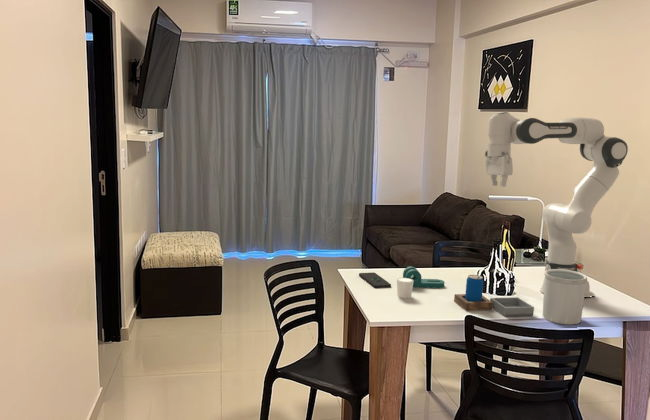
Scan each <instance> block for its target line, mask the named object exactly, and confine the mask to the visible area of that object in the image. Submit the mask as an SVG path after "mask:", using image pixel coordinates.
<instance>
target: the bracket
mask: <svg viewBox="0 0 650 420" xmlns="http://www.w3.org/2000/svg"><path fill="white" fill-rule="evenodd" d="M402 278H410V279H412V280H414V282H413V288H422V289H424V288H425V289H426V288H427V289H442V288H444V287H445V281H444V280H442V279H438V278H422V274H421V273H420V272H419V270H418V269H417V268H416V267H415V266H406V268H404V269H403V272H402Z"/></svg>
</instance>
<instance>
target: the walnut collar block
mask: <svg viewBox="0 0 650 420" xmlns="http://www.w3.org/2000/svg"><path fill="white" fill-rule="evenodd" d="M465 294H466V293H457V294H456V293H455V294H454V295H453V297H454V298H453V302H454V303H455V304H457V305H458V306H459V307H460V308H461V309H463V310H464V311H470V312H471V311H493V310H494V309H493V302H492V301H490V299H489V298H487V297H485V296H484V295H483V294H482V301H476V302H469V301H467V300H466V299H465Z"/></svg>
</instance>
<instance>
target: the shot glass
mask: <svg viewBox="0 0 650 420" xmlns="http://www.w3.org/2000/svg"><path fill="white" fill-rule="evenodd" d="M413 282H414V280H412V279H410V278H403V277H398V278H396V290H397V293H396V294H397V295H396V296H397V297H399V298H401V299H402V298H403V299H410V298H411V297H412V293H413V288H414V287H413Z"/></svg>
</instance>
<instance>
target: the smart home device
mask: <svg viewBox="0 0 650 420" xmlns="http://www.w3.org/2000/svg"><path fill="white" fill-rule="evenodd" d="M358 276H359V277H360V278H361V279H362V280H364V281H365V282H366V283H367V284H368V285H370V286H371V287H373V289H384V288H385V289H386V288H387V289H388V288H392V284H391V283H390V282H388V281H387V280H386V279H385V278H383V277H382V276H380V275H379V274H377V273H376V272H359V273H358Z"/></svg>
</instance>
